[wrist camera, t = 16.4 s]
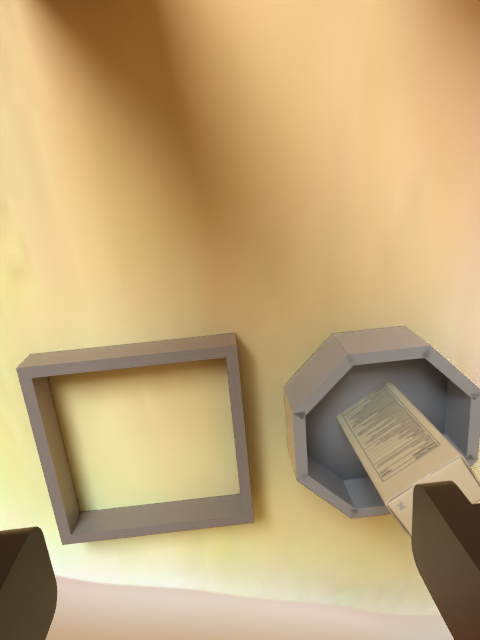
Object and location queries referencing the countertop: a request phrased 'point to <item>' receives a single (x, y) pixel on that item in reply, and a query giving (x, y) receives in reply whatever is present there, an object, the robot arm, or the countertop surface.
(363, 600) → the countertop surface
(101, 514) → the parts tray
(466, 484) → the skincare box
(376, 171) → the countertop surface
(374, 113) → the countertop surface
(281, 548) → the countertop surface
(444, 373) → the ceramic bowl
